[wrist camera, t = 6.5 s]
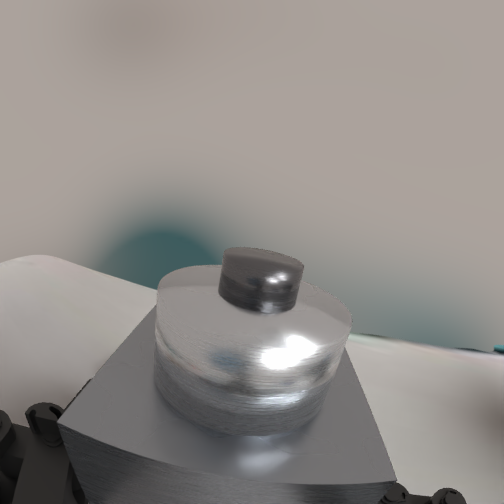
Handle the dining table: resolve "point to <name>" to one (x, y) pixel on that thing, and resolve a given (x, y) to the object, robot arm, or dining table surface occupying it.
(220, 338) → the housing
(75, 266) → the dining table surface
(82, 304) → the dining table surface
